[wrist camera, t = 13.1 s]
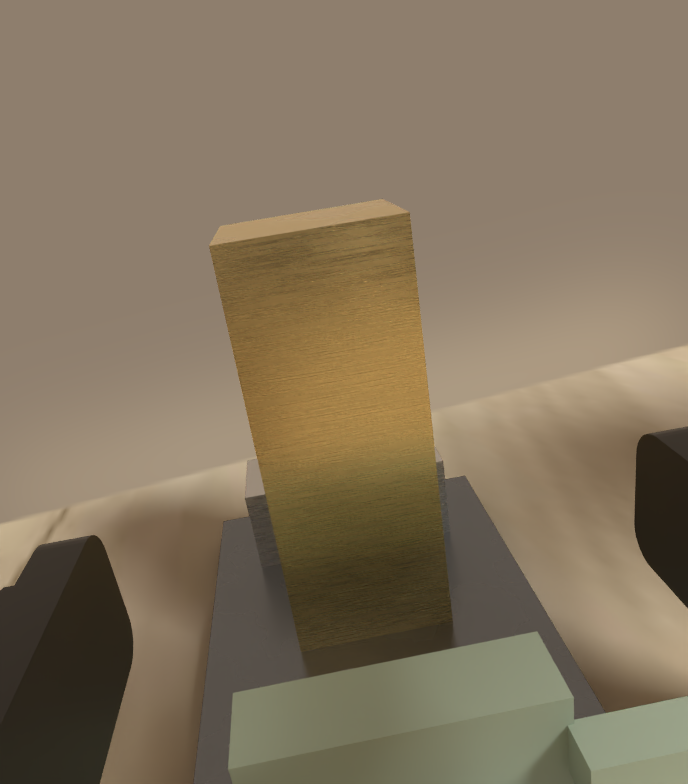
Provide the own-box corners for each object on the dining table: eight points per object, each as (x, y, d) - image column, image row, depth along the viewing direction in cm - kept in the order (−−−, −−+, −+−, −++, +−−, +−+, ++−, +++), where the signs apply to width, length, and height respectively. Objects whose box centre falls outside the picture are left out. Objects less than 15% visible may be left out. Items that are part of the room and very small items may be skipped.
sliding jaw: (1136, 870, 12) (1788, -410, 5) (252, 1076, 11) (-226, -143, 5) (873, 650, 17) (1045, -140, 11) (257, 778, 16) (35, 8, 10)
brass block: (452, 621, 21) (409, 211, 16) (300, 651, 20) (209, 245, 15) (424, 548, 24) (382, 199, 19) (295, 573, 24) (220, 225, 19)
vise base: (686, 881, 14) (697, 745, 12) (184, 994, 13) (129, 868, 12) (466, 494, 29) (459, 411, 28) (228, 540, 29) (207, 458, 27)
